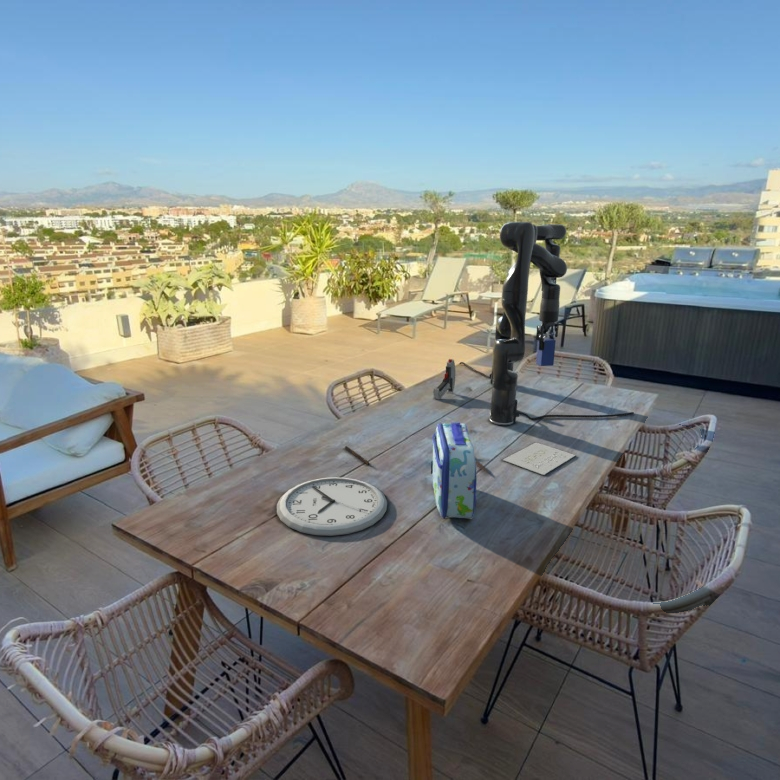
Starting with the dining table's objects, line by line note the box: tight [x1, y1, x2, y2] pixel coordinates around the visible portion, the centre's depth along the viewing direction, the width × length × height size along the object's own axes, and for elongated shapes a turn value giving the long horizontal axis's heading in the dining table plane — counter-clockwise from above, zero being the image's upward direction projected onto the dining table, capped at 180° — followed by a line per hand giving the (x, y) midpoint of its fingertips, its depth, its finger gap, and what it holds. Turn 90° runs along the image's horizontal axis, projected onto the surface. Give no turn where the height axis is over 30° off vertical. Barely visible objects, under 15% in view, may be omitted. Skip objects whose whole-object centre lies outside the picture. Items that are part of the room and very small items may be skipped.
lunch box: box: [430, 422, 478, 520], centre depth 143 cm, size 26×11×21 cm, turn 179°
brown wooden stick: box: [344, 445, 370, 465], centre depth 173 cm, size 15×1×1 cm, turn 34°
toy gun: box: [433, 358, 456, 400], centre depth 235 cm, size 2×16×15 cm
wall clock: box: [276, 476, 388, 537], centre depth 142 cm, size 30×2×30 cm
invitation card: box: [502, 442, 577, 476], centre depth 174 cm, size 21×1×15 cm
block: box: [535, 338, 556, 367], centre depth 220 cm, size 4×6×11 cm
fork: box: [475, 459, 488, 474], centre depth 169 cm, size 3×16×2 cm, turn 15°
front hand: (546, 349), depth 219 cm, fingers closed on block, 7 cm apart
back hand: (547, 298), depth 267 cm, fingers open, 8 cm apart
